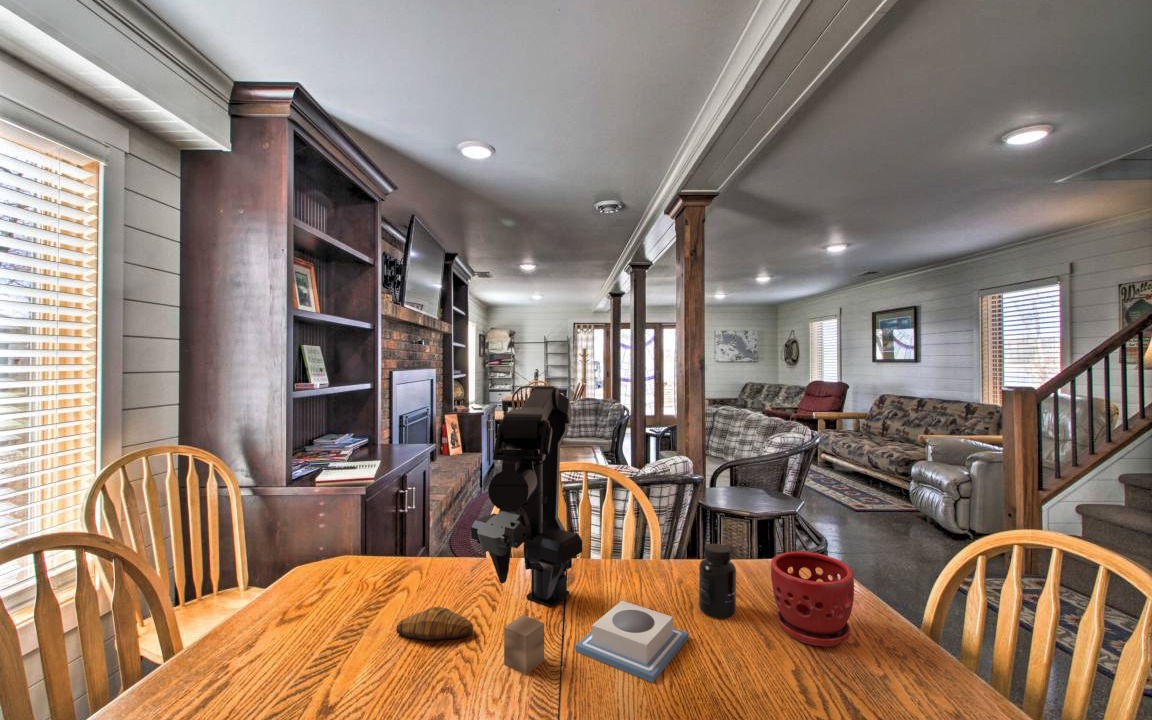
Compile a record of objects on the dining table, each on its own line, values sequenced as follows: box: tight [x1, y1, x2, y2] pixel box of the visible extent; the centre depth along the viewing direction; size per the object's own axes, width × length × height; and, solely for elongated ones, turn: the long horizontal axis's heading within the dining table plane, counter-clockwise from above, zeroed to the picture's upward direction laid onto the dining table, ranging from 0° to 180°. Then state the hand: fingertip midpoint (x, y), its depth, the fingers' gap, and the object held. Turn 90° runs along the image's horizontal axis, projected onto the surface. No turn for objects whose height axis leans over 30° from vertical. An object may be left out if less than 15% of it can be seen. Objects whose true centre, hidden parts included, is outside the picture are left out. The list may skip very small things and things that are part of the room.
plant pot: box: [770, 551, 855, 648], centre depth 87 cm, size 13×13×12 cm
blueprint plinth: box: [574, 600, 690, 684], centre depth 83 cm, size 14×14×4 cm
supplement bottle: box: [698, 543, 737, 620], centre depth 94 cm, size 7×7×12 cm
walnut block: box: [503, 614, 545, 676], centre depth 78 cm, size 4×4×6 cm
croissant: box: [395, 606, 474, 641], centre depth 86 cm, size 14×7×5 cm, turn 87°
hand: (524, 590), depth 78 cm, fingers open, 9 cm apart
